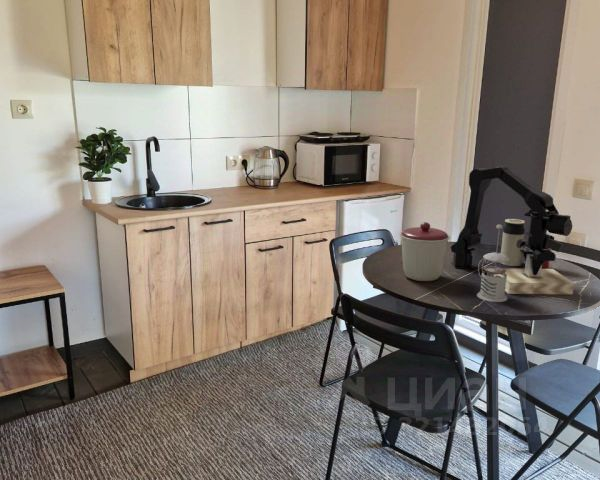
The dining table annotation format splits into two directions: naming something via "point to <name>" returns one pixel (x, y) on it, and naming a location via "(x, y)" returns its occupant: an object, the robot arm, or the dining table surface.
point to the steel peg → (530, 268)
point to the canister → (423, 252)
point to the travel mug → (512, 241)
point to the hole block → (537, 283)
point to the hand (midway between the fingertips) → (532, 272)
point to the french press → (493, 277)
